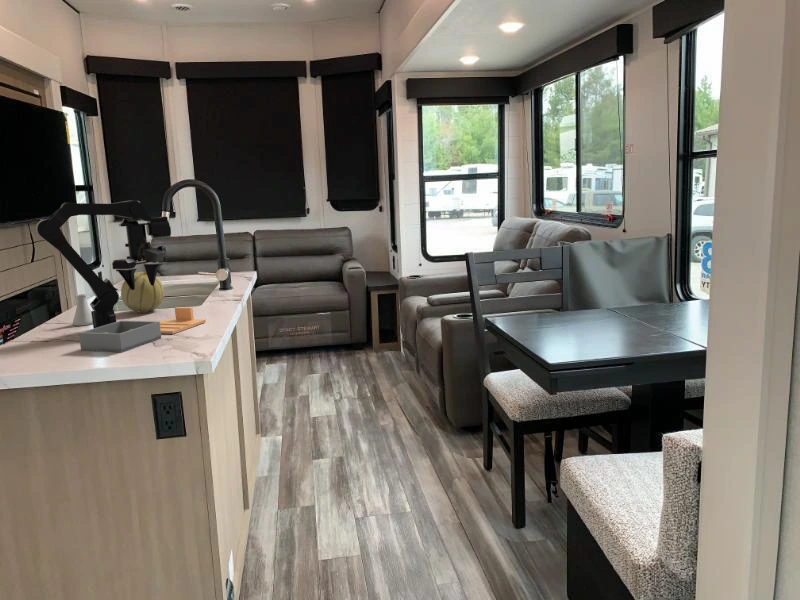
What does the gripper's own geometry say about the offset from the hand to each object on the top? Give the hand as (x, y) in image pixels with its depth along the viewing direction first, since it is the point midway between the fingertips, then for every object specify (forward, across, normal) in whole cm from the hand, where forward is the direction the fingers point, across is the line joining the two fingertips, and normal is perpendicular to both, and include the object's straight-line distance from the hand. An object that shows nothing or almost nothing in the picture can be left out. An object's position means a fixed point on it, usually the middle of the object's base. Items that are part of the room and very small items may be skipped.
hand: (143, 287), depth 207 cm
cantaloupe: (+12, +18, +16) cm, 27 cm away
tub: (+12, -26, -13) cm, 31 cm away
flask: (+12, -3, +23) cm, 26 cm away
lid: (+12, -5, -13) cm, 18 cm away
